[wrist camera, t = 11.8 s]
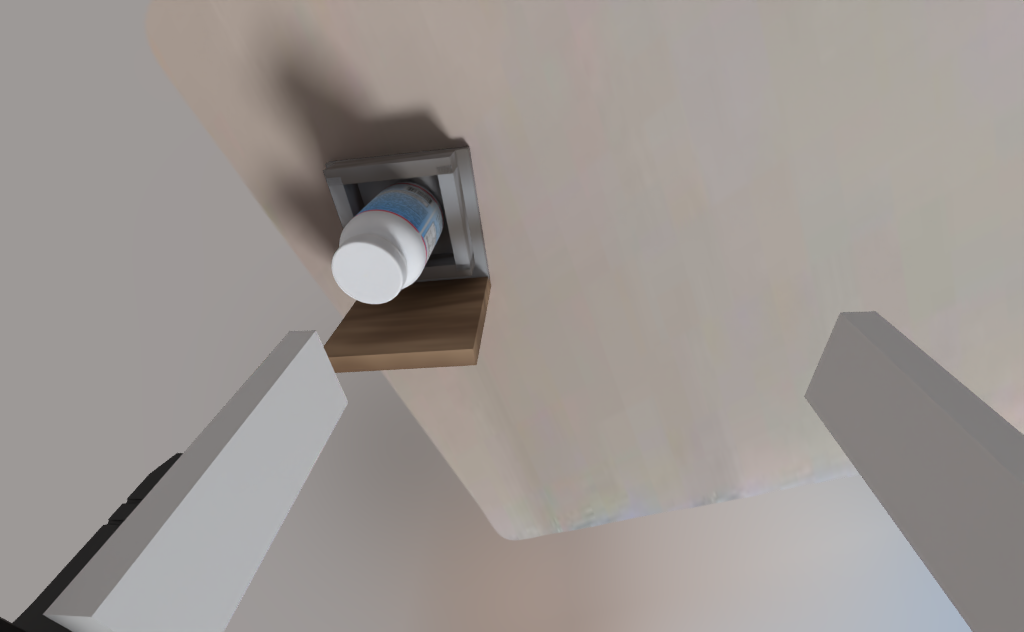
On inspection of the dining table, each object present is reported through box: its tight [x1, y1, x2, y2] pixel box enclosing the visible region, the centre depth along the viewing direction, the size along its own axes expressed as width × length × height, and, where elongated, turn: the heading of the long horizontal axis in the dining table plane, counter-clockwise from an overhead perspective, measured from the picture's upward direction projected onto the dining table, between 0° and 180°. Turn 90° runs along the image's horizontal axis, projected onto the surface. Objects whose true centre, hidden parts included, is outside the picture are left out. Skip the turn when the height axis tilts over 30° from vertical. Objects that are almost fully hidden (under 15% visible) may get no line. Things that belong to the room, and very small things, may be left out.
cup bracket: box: [323, 147, 491, 373], centre depth 32 cm, size 13×12×12 cm
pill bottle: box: [331, 182, 444, 304], centre depth 31 cm, size 6×6×11 cm
